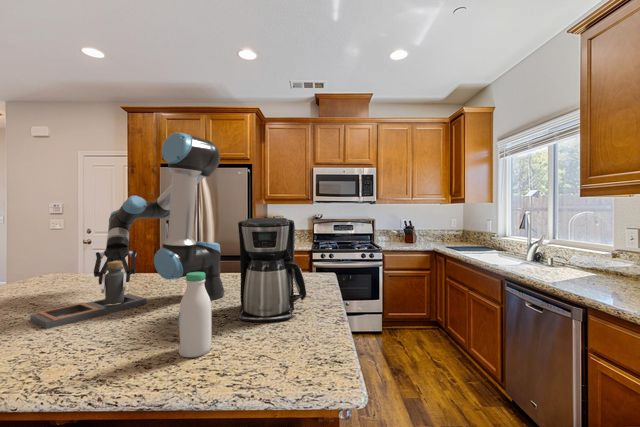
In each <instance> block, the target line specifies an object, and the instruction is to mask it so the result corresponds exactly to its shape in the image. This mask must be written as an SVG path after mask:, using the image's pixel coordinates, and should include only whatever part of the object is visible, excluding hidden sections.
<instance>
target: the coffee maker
mask: <svg viewBox="0 0 640 427" xmlns="http://www.w3.org/2000/svg"><path fill="white" fill-rule="evenodd" d="M237 224H238V226H237V227H238V228H237V229H238V238H239V255H240V256H239V259H240V262H239V263H240V295H239V296H240V311H239V312H240V314H239V315H238V318H239V319H240V320H241V321H243V322H252V323H253V322H256V323H257V322H259V323H261V322H262V323H264V322H277V321H283V320H288V319H290V318H291V317H292V316H293V311H295V302H296V301H297V300H299V299H300V300H301V301H303V300H304V299H305V298H306V297H307V287H306V282H305V277H304V274H303V271H302V268H301V267H300V264H299V263H297V262H295V254H296V253H295V243H296V241H295V240H296V238H295V237H296V226H295V221H294V220H292V219H288V218H286V217H255V218H253V217H252V218H247V219H245V220H239V222H238V223H237ZM294 284H295V286H296V289H297V291H298V294H294Z"/></svg>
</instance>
